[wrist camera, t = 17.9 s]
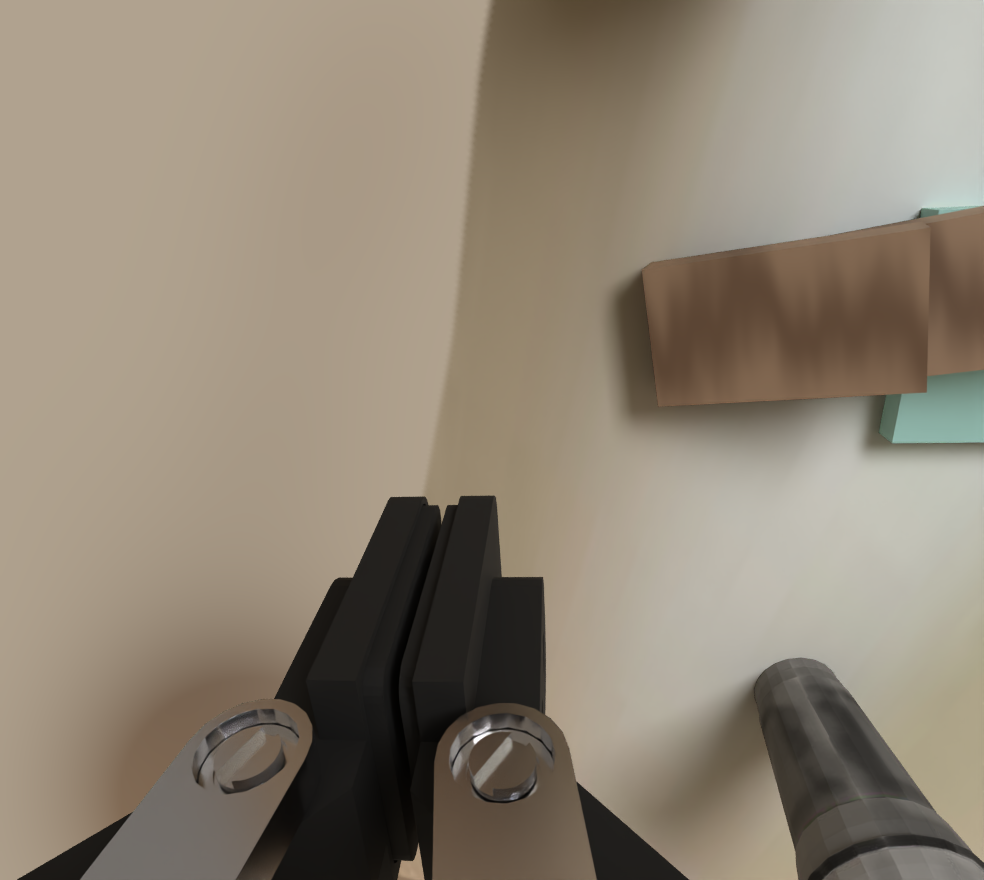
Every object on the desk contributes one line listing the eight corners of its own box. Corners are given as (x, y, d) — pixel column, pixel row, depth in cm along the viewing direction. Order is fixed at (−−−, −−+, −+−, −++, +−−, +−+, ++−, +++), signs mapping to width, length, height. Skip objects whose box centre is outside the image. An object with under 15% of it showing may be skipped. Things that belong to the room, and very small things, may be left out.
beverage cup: (708, 718, 38) (860, 1231, 20) (762, 622, 35) (998, 1113, 17) (825, 752, 38) (1083, 1287, 20) (888, 658, 36) (1256, 1181, 17)
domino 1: (641, 269, 27) (930, 227, 23) (651, 262, 29) (922, 221, 24) (658, 406, 29) (926, 392, 25) (666, 392, 31) (919, 376, 26)
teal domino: (892, 443, 30) (938, 210, 26) (871, 427, 32) (912, 207, 28) (1033, 441, 29) (1102, 203, 25) (1004, 425, 31) (1065, 201, 27)
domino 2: (797, 248, 26) (1115, 187, 23) (792, 242, 28) (1088, 185, 24) (808, 389, 28) (1104, 355, 24) (803, 376, 30) (1079, 342, 26)
